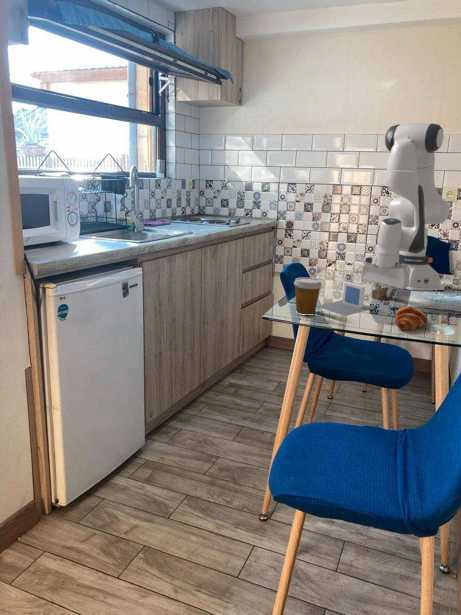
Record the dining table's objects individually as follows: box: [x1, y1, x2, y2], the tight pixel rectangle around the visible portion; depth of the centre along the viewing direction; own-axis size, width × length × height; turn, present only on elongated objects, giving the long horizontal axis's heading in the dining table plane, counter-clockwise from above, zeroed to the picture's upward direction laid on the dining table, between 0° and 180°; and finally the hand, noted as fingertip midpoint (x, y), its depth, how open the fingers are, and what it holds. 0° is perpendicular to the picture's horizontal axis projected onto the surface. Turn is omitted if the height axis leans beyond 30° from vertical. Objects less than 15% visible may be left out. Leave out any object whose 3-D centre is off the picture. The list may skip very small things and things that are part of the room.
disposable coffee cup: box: [293, 276, 323, 315], centre depth 176 cm, size 10×10×12 cm
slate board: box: [316, 299, 376, 317], centre depth 186 cm, size 18×14×1 cm
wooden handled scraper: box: [371, 286, 394, 301], centre depth 200 cm, size 7×18×4 cm, turn 130°
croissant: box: [394, 306, 428, 331], centre depth 170 cm, size 21×10×8 cm, turn 148°
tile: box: [342, 281, 366, 308], centre depth 187 cm, size 2×8×8 cm, turn 40°
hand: (382, 295), depth 202 cm, fingers closed on wooden handled scraper, 3 cm apart
